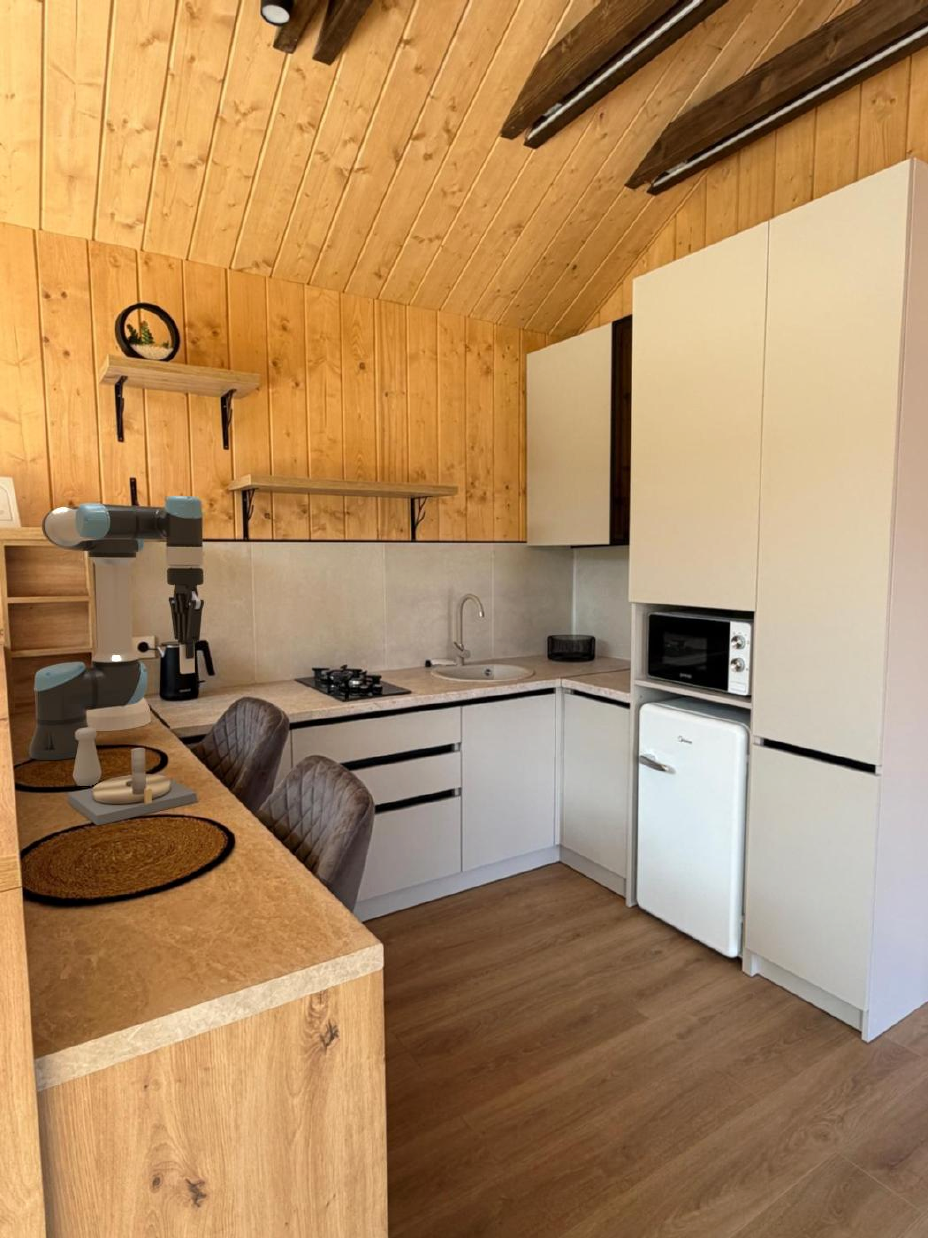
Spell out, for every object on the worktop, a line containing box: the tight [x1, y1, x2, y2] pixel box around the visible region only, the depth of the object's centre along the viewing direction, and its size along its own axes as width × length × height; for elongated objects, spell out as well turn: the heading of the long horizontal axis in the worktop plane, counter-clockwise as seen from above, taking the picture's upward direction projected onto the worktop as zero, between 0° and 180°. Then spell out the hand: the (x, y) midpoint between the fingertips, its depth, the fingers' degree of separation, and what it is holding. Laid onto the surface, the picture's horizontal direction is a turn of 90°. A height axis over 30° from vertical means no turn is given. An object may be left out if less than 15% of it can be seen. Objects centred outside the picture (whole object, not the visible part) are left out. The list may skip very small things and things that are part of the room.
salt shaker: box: [72, 727, 103, 787], centre depth 165 cm, size 6×6×13 cm
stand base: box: [67, 773, 198, 827], centre depth 154 cm, size 18×20×5 cm
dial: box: [92, 747, 171, 804], centre depth 153 cm, size 15×15×10 cm
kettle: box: [86, 697, 152, 732], centre depth 223 cm, size 20×21×18 cm
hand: (187, 672), depth 162 cm, fingers closed
